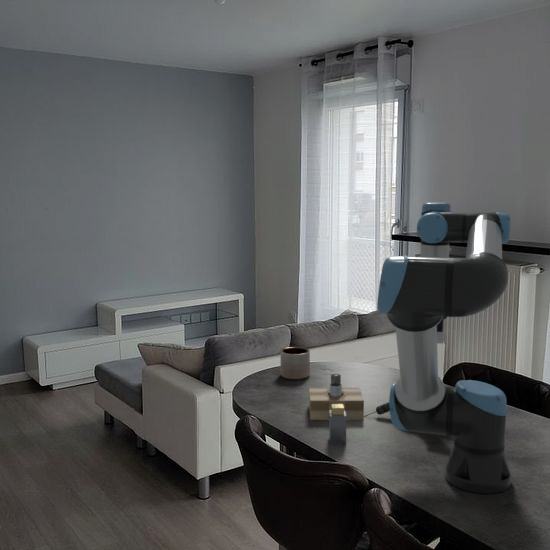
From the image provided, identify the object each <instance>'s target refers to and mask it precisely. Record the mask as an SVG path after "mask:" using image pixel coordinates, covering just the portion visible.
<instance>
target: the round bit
mask: <svg viewBox="0 0 550 550" xmlns="http://www.w3.org/2000/svg"><path fill="white" fill-rule="evenodd" d="M341 376H342V375H341V374H339V373H332V374H330V383H329V388H330V396H333V397H340V396H342V388H343V387H342V386H343V385H342V383H341V381H342V380H341V379H342V378H341Z"/></svg>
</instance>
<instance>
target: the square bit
mask: <svg viewBox="0 0 550 550" xmlns="http://www.w3.org/2000/svg"><path fill="white" fill-rule="evenodd" d="M328 438H329V439H328V440H329V444H331V445H346V444H347V420H346V412H345V410H344V406H343V404H332V410H329V420H328Z"/></svg>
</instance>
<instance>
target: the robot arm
mask: <svg viewBox="0 0 550 550" xmlns="http://www.w3.org/2000/svg"><path fill="white" fill-rule="evenodd" d="M420 214H421V216H420V218H418V221H417V224H416V232H417V235H418V237H419V239H421V240H420V254H419V255H420V256H408V255H407V254H406V255H401V256H399V255H398V256H389V257H386V258H385V260H384V261H383V263H382V267H381V274H380V279H379V285H378V293H377V303H376V309H377V312H379V313H380V314H381V313H382V314H383V315H386V316H387V319H388V321H389V323H390V324H391V325H392V326H393V327H395V336H396V344H397V345H396V346H397V357H398V358H397V359H398V367H399V378H398V379H397V381H396V382H393V383H392V385H391V387H390V391H389V398H388V402H389V407H390V411H389V416H390V420H391V424H392V425H393V427H395V429H397V430H400V431H406V432H408V433H418V434H419V433H422V434H430V435H439V436H447V437H448V436H449V437H453V446H452V449H451V451H450V454H449V456H448V459H447V462H446V464H445V471H444V473H445V474H444V477H445V479H446V481H448V482H449V483H450V485H452V486H454V487H456V488H458V489H461V490H463V491H467V492H471V493H475V494H484V495H485V494H488V495H489V494H497V493H502V492H504V491H507V490H508V489H509V488H510V487H511V484H512V472H511V469H510V465H509V463H508V459H507V456H506V452H505V451H506V449H505V448H506V445H505V444H506V425H507V424H506V422H507V415H508V409H507V396H506V394H505V393H504V391H503V390H501V389H500V388H499V387H498V386H497V387H496V386H495V385H492V384H489V383H487V382H483V381H479V380H472V379H467V380H465V379H462V380H459V381H457V382H456V384H455V386H447V385H445V383H444V381H443V380H442V379H441V377H439V360H438V356H439V354H438V344H444V341H445V340H444V337H445V335H444V334H445V319H447V318H448V317H449V318H465V317H469V316H474V315H476V314H479V313H481V312H483V311H485V310H487V309H488V308H489V307H491V306H492V305H494V304H495V303H496V302H498V300H499V299H500V298H501V297H502V295H503V294H504V292H505V291H506V289H507V286H508V283H509V270H508V267H507V265H506V263H505V261H504V260H503V244H507V243H509V240H510V232H511V215H509V213H505V212H496V211H493V212H464V211H463V212H458V211H457V212H456V211H455V212H453V211H451V204H450V203H448V202H424V203H423V204H422V207H421V213H420ZM450 243H464V244H465V243H466V244H467V245H466V252H465V253H466V254H465V257H450V252H451V251H452V248H451V247H450Z"/></svg>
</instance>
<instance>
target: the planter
mask: <svg viewBox="0 0 550 550" xmlns="http://www.w3.org/2000/svg"><path fill="white" fill-rule="evenodd" d="M310 352H311V351H310V349H308V348H306V347H303V346H302V347H301V346H288V347H284V348H282V349H280V366H279V367H280V371H279V372H280V373H279V374H280V376H281V377H282V378H284V379H287V380H295V381H296V380H297V381H299V380H303V379H306V378H309V377H310V375H311V362H310V361H311V358H310V357H311V356H310V354H311V353H310Z"/></svg>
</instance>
